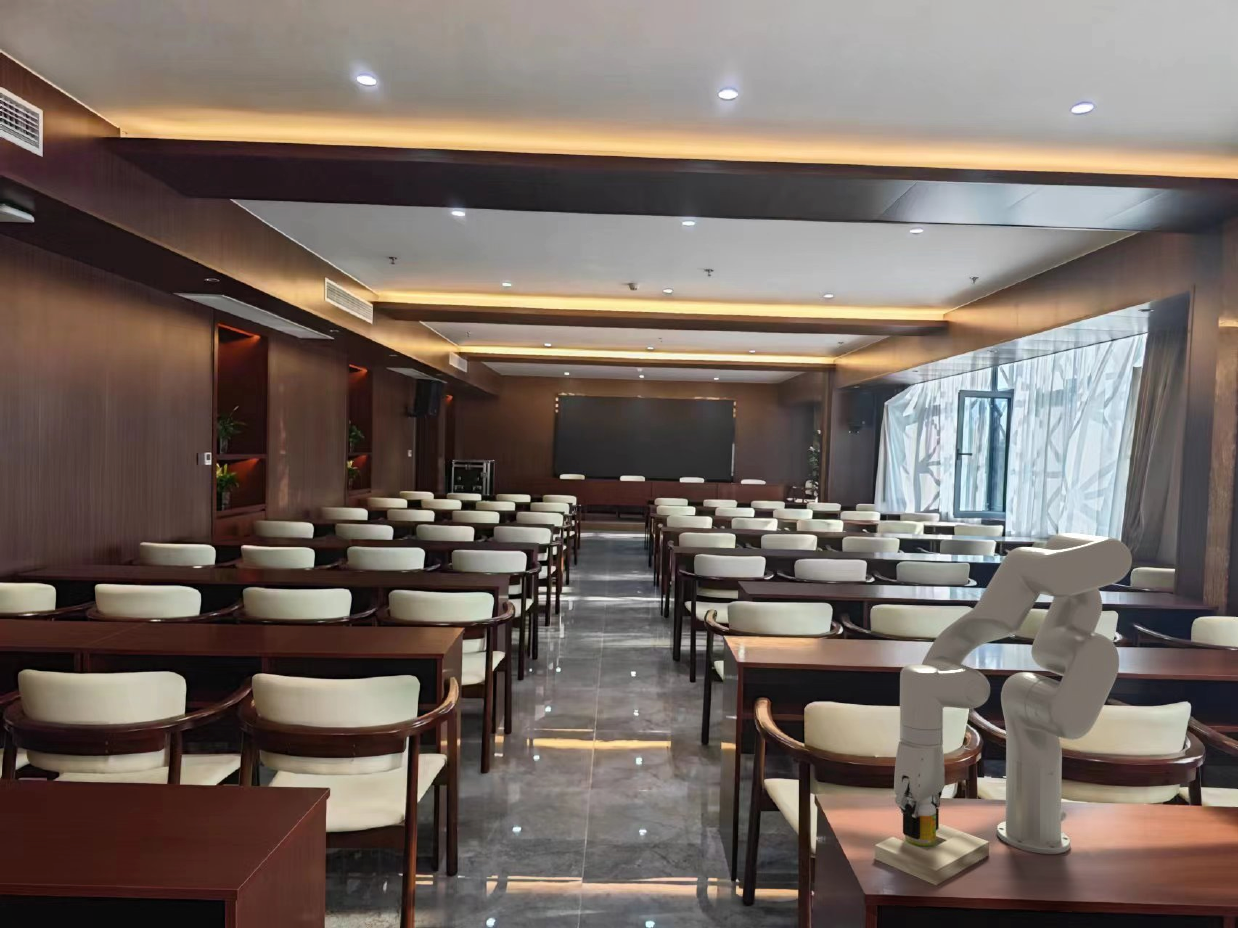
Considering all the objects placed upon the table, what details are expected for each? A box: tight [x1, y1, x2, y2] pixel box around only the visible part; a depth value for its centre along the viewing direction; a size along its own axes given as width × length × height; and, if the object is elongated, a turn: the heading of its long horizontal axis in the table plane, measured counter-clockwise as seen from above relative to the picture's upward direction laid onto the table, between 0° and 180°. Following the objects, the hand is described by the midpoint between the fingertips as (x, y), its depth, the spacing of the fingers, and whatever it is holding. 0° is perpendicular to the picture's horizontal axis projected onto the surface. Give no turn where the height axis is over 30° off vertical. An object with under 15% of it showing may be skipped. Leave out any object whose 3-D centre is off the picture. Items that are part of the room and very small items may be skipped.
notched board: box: [874, 823, 990, 886], centre depth 151 cm, size 18×12×2 cm, turn 129°
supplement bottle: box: [904, 793, 936, 850], centre depth 153 cm, size 5×5×10 cm
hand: (920, 830), depth 153 cm, fingers closed on supplement bottle, 5 cm apart
